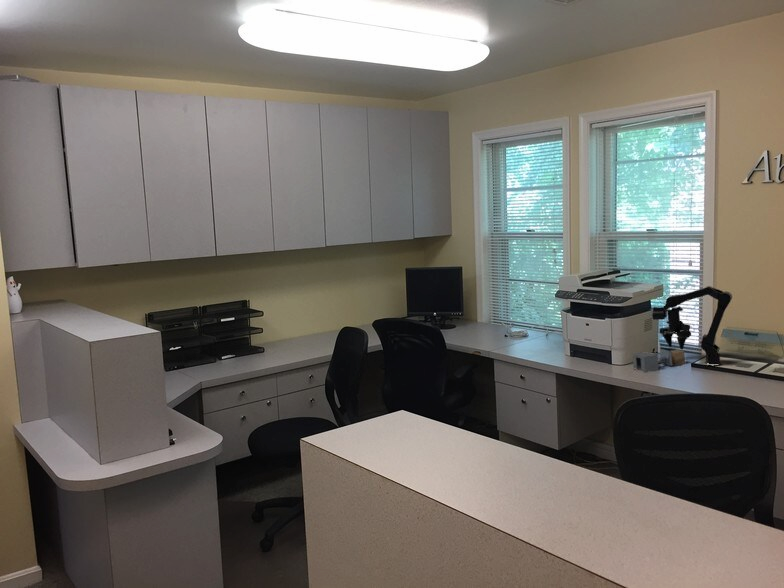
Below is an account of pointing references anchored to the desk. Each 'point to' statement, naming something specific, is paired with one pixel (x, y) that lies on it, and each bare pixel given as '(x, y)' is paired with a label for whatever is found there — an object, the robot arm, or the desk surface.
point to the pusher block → (677, 357)
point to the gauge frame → (645, 361)
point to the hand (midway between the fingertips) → (676, 347)
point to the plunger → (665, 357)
